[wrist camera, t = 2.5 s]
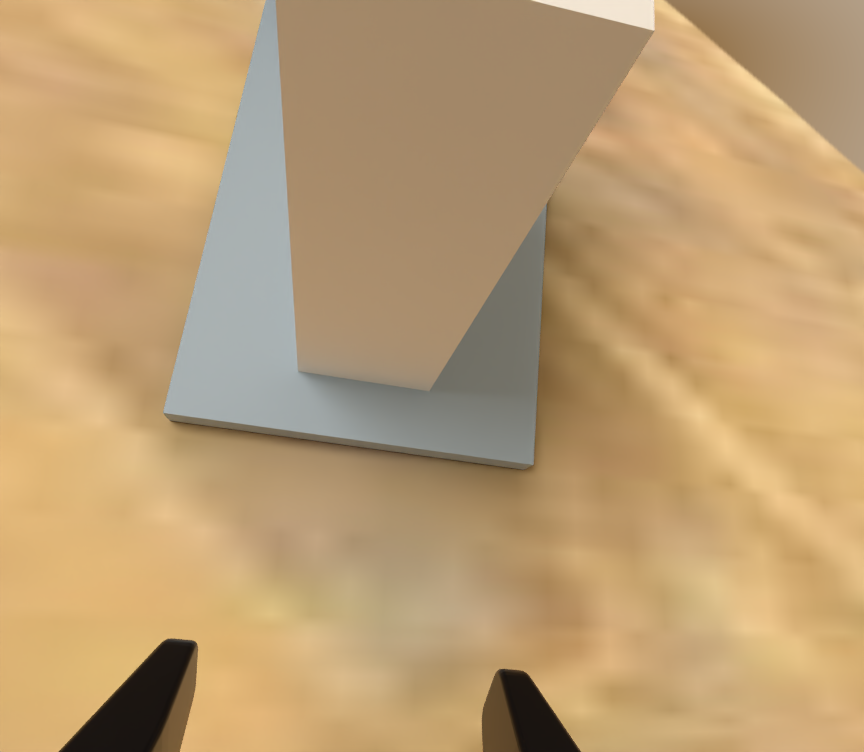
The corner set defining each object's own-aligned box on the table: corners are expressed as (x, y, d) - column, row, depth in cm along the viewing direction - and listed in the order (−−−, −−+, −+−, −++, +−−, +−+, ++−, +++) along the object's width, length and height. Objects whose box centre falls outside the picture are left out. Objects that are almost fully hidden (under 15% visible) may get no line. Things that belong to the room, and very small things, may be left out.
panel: (429, 391, 21) (654, 30, 7) (297, 371, 21) (271, -64, 7) (455, 147, 25) (648, -426, 11) (342, 124, 24) (388, -517, 10)
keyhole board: (524, 469, 22) (596, 432, 17) (169, 420, 21) (117, 360, 15) (550, -1, 29) (607, -138, 24) (288, -65, 28) (282, -230, 22)
